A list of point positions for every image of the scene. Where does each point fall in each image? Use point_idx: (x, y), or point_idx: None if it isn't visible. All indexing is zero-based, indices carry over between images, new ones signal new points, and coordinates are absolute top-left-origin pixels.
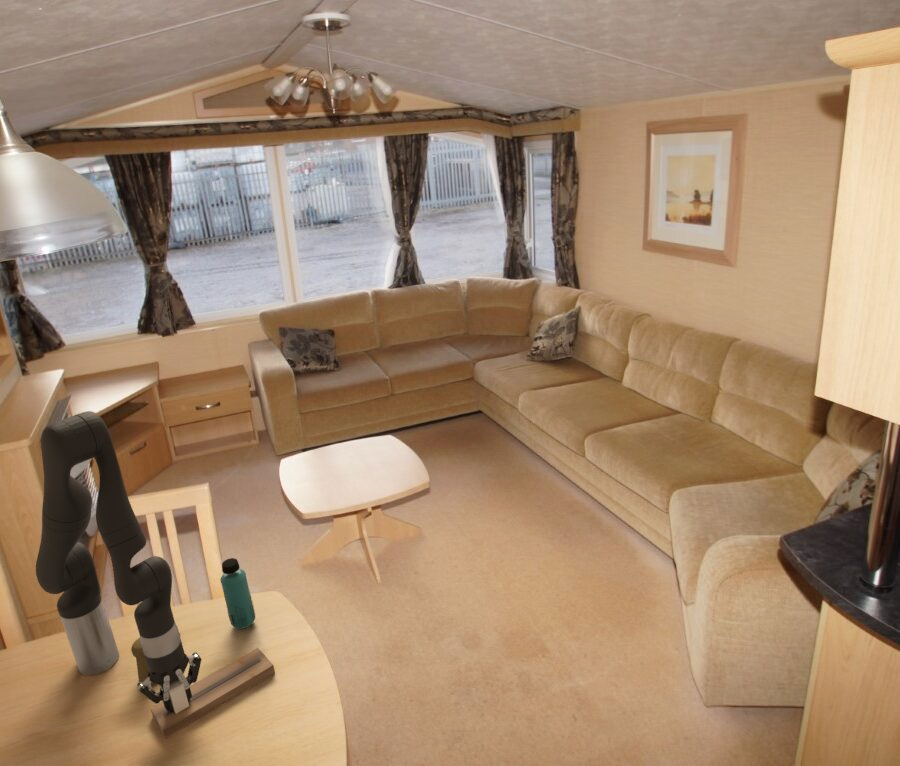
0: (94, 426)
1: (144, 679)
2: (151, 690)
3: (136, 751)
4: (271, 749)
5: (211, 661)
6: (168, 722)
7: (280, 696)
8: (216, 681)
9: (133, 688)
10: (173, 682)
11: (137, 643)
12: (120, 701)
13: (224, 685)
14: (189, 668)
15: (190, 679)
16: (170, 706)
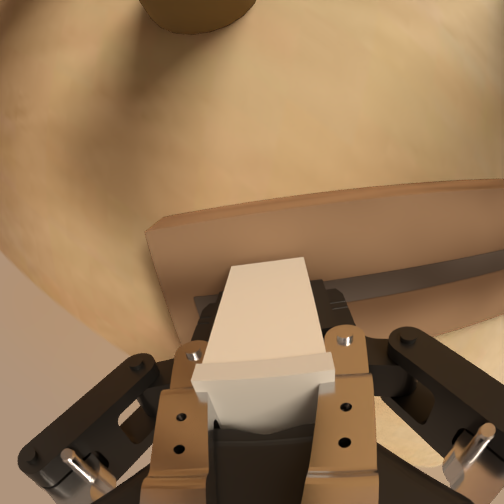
0: None
1: (151, 10)
2: (117, 438)
3: (116, 328)
4: (396, 450)
5: (447, 61)
6: None
7: (495, 356)
8: (451, 253)
9: (122, 17)
10: (275, 431)
11: None
12: (73, 67)
13: (457, 295)
14: (433, 387)
15: (384, 395)
16: None
